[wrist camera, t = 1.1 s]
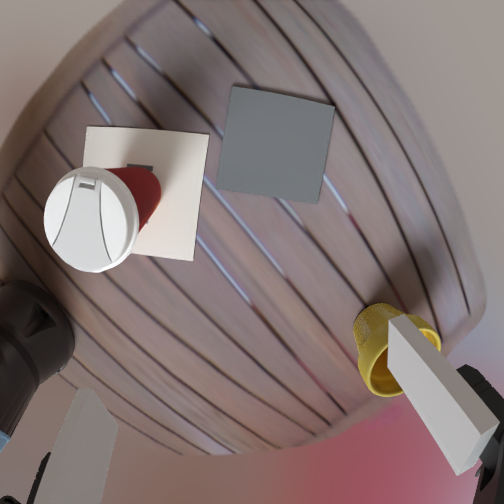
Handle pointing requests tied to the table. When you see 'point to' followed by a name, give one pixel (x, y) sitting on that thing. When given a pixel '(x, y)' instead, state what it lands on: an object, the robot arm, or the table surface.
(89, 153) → the tile
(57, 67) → the table surface
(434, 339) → the plant pot
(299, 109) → the slate coaster
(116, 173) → the paper cup
